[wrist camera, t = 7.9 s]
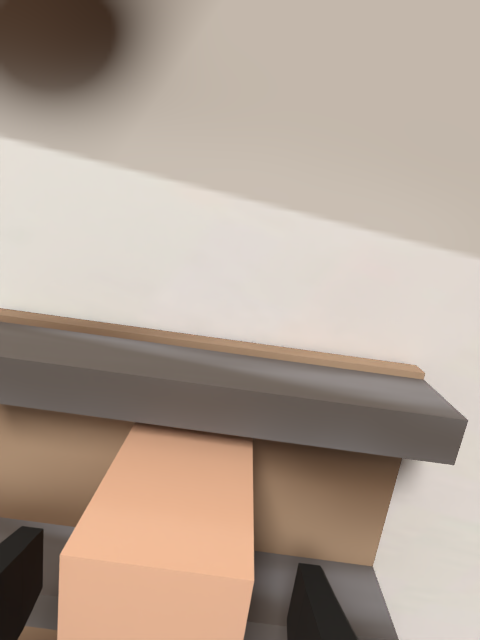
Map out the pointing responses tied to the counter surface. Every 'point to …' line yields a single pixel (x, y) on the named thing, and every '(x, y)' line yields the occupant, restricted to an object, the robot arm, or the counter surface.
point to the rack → (225, 418)
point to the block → (164, 542)
